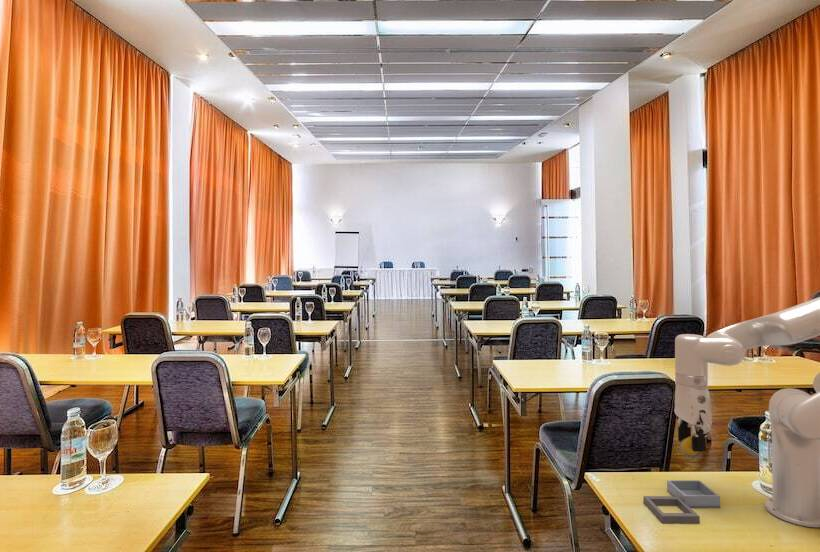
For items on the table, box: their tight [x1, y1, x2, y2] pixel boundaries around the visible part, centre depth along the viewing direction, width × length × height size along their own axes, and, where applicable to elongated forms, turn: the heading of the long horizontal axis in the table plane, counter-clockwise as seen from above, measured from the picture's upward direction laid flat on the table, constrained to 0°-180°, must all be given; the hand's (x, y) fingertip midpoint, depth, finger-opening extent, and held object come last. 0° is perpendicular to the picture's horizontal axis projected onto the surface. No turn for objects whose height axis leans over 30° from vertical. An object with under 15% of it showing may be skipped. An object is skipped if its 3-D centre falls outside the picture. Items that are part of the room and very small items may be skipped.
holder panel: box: [643, 495, 701, 525], centre depth 118 cm, size 9×10×2 cm
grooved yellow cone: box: [679, 436, 704, 459], centre depth 124 cm, size 5×5×10 cm
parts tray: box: [666, 479, 721, 509], centre depth 124 cm, size 9×9×3 cm
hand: (691, 445), depth 124 cm, fingers closed on grooved yellow cone, 6 cm apart
